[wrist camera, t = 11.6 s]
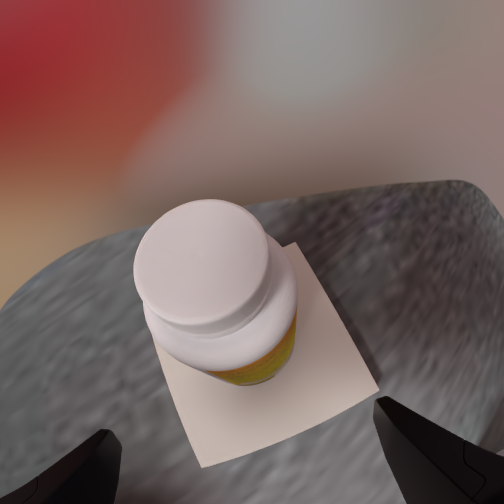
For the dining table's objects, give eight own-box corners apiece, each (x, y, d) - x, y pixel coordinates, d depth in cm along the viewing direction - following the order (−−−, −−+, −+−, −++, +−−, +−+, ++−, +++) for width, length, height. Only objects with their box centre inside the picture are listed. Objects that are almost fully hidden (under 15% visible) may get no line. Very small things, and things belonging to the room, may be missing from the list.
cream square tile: (374, 391, 15) (379, 390, 14) (206, 465, 14) (201, 468, 13) (295, 249, 20) (295, 241, 20) (150, 311, 19) (144, 306, 18)
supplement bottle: (307, 313, 17) (325, 201, 8) (273, 401, 15) (252, 394, 6) (223, 284, 19) (167, 166, 10) (185, 364, 16) (79, 304, 7)
